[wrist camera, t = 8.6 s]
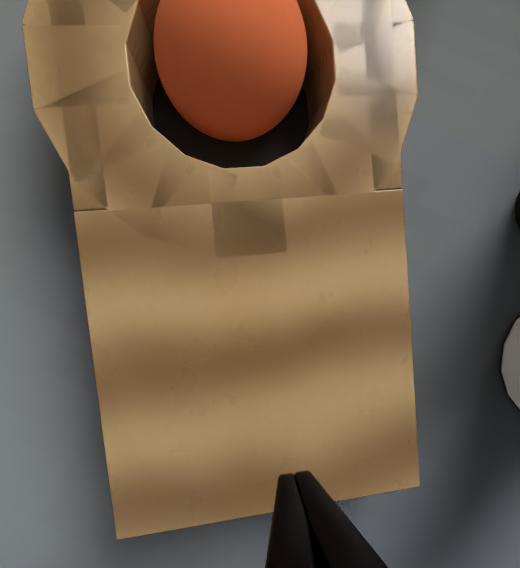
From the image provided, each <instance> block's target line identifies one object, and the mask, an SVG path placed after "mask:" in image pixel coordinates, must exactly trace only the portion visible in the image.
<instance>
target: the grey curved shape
mask: <svg viewBox="0 0 520 568" xmlns="http://www.w3.org/2000/svg"><path fill="white" fill-rule="evenodd" d="M501 372H502V376H503V379H504V383H505V386H506V390H507V393H508V395H509V396H510V398H511V399H512V400H513V402H514V403H515V404H516V405H517V407H518V408H519V409H520V317H519V318H518V319H517V320H516V321H515V322H514V324H513V327H512V329H511V331H510V333H509V335H508V337H507V339H506V341H505V343H504V347H503V356H502V364H501Z"/></svg>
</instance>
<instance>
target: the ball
mask: <svg viewBox="0 0 520 568" xmlns="http://www.w3.org/2000/svg"><path fill="white" fill-rule="evenodd" d="M154 55H155V62H156V66H157V71H158V74H159V77H160V80H161V83H162V85H163V87H164V90H165V92H166V94H167V96H168V97H169V99H170V101H171V102H172V104H173V106H174V107H175V108H176V110H177V111H178V112H179V114H180V115H181V116H182V117H183V118H184V119H185V120H186V121H187V122H188V123H189V124H191V125H192V126H193V127H194V128H196V129H197V130H199V131H200V132H202V133H204V134H206V135H208V136H210V137H213V138H216V139H219V140H224V141H246V140H250V139H253V138H256V137H259V136H261V135H263V134H265V133H267V132H268V131H270V130H271V129H273V128H274V127H275V126H276V125H277V124H279V123H280V122H281V121H282V120H283V118H284V117H285V116H286V115H287V114H288V112H289V111H290V109H291V108H292V106H293V105H294V103H295V101H296V99H297V97H298V94H299V92H300V89H301V87H302V83H303V80H304V76H305V71H306V65H307V37H306V30H305V25H304V21H303V17H302V14H301V11H300V8H299V5H298V3H297V1H296V0H160V3H159V5H158V9H157V13H156V18H155V25H154Z"/></svg>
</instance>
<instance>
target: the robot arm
mask: <svg viewBox="0 0 520 568" xmlns="http://www.w3.org/2000/svg"><path fill="white" fill-rule="evenodd" d="M265 568H388V567H387V566H386V564H385V563H384V562H383V561H382V559H381V558H380V557H379V556H378V554H377V553H376V552H375V551H374V549H373V548H372V547H371V546H370V545H369V543H368V542H367V541H366V540H365V538H364V537H363V536H362V535H361V533H360V532H359V531H358V530H357V528H356V527H355V526H354V525H353V524H352V522H351V521H350V520H349V519H348V517H347V516H346V515H345V514H344V512H343V511H342V510H341V509H340V507H339V506H338V505H337V504H336V503H335V501H334V500H333V499H332V498H331V496H330V495H329V494H328V493H327V491H326V490H325V489H324V488H323V487H322V485H321V484H320V483H319V482H318V480H317V479H316V478H315V477H314V475H313V474H312V473H311V472H310V471H308V470H304V471H298V472H295V473H294V474H293V473H286V474H280V475H279V476H278V482H277V489H276V496H275V503H274V510H273V517H272V524H271V531H270V538H269V545H268V552H267V559H266V566H265Z"/></svg>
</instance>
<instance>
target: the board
mask: <svg viewBox="0 0 520 568" xmlns="http://www.w3.org/2000/svg"><path fill="white" fill-rule="evenodd" d="M296 1H297V3H298V5H299V8H300V11H301V14H302V17H303V21H304V25H305V30H306V37H307V65H306V71H305V76H304V80H303V83H302V86H303V89H304V91H305V93H306V95H307V107H308V120H309V127H308V130H307V133H306V136H305V139H304V142H303V143H302V144H301V146H300V147H299V148H298V149H296V150H294V151H293V152H291V153H289V154H287V155H285V156H283V157H281V158H279V159H277V160H275V161H273V162H271V163H269V164H267V165H265V166H256V167H239V168H221V167H218V166H215V165H212V164H210V163H207V162H204V161H201V160H198V159H195V158H192V157H189V156H187V155H185V154H184V153H182V152H181V151H180V150H179V149H178V148H177V147H175V146H174V145H173V144H172V143H171V142H170V141H169V140H167V139H166V138H165V137H164V136H163V135H162V134H160V133H159V132H158V131H157V130H156V129H155V123H154V114H153V105H152V99H153V95H154V92H155V88H156V85H157V82H158V78H159V74H158V71H157V66H156V62H155V55H154V25H155V18H156V13H157V9H158V5H159V3H160V0H28V3H27V7H26V10H25V14H24V17H23V21H22V30H23V37H24V44H25V52H26V59H27V66H28V74H29V81H30V88H31V95H32V103H33V109H34V113H35V114H36V116H37V118H38V120H39V121H40V123H41V125H42V126H43V128H44V130H45V132H46V133H47V135H48V137H49V139H50V140H51V142H52V144H53V146H54V147H55V149H56V151H57V153H58V154H59V156H60V158H61V160H62V161H63V163H64V165H65V167H66V168H67V170H68V172H69V179H70V187H71V194H72V202H73V209H74V211H76V212H74V219H75V226H76V234H77V242H78V249H79V257H80V265H81V272H82V280H83V287H84V295H85V303H86V310H87V318H88V326H89V333H90V341H91V348H92V356H93V364H94V371H95V379H96V387H97V394H98V402H99V409H100V417H101V425H102V432H103V440H104V447H105V455H106V463H107V470H108V478H109V486H110V493H111V501H112V508H113V516H114V524H115V531H116V539H117V540H120V539H126V538H131V537H137V536H143V535H148V534H154V533H160V532H165V531H171V530H177V529H182V528H188V527H194V526H199V525H205V524H211V523H217V522H222V521H228V520H234V519H239V518H245V517H251V516H256V515H262V514H268V513H273V510H274V503H275V496H276V489H277V482H278V476H279V475H280V474H286V473H293V474H294V473H295V472H298V471H304V470H308V471H310V472H311V473H312V474H313V475H314V477H315V478H316V479H317V480H318V482H319V483H320V484H321V485H322V487H323V488H324V489H325V490H326V491H327V493H328V494H329V495H330V496H331V498H332V499H333V500H334V501H335V502H336V501H341V500H347V499H353V498H358V497H364V496H370V495H376V494H381V493H387V492H393V491H398V490H404V489H410V488H415V487H419V486H420V478H419V461H418V444H417V427H416V410H415V393H414V376H413V359H412V342H411V325H410V308H409V291H408V274H407V257H406V240H405V222H404V205H403V190H402V171H401V154H400V152H401V148H402V145H403V142H404V139H405V136H406V133H407V129H408V126H409V123H410V120H411V117H412V114H413V111H414V107H415V104H416V101H417V98H418V96H417V95H418V87H417V68H416V50H415V31H414V21H413V16H412V14H411V12H410V9H409V7H408V5H407V2H406V0H296Z"/></svg>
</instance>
